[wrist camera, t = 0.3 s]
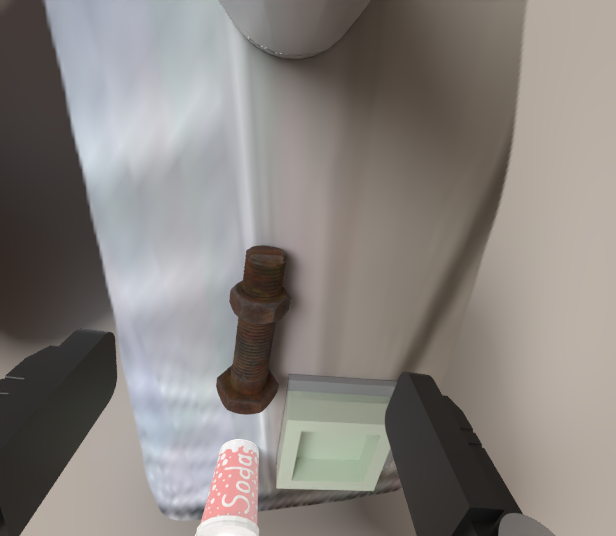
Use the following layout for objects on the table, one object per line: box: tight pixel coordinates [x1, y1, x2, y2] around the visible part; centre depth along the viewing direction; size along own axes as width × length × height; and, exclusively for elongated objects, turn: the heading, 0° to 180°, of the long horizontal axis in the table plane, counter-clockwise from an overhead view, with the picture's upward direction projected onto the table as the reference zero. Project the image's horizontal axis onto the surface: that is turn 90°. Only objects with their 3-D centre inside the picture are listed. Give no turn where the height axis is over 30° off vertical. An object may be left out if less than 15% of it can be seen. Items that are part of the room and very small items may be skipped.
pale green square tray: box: [276, 374, 397, 491], centre depth 35 cm, size 14×14×4 cm
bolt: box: [216, 246, 291, 414], centre depth 28 cm, size 6×5×15 cm
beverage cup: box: [195, 439, 259, 536], centre depth 32 cm, size 6×6×14 cm
